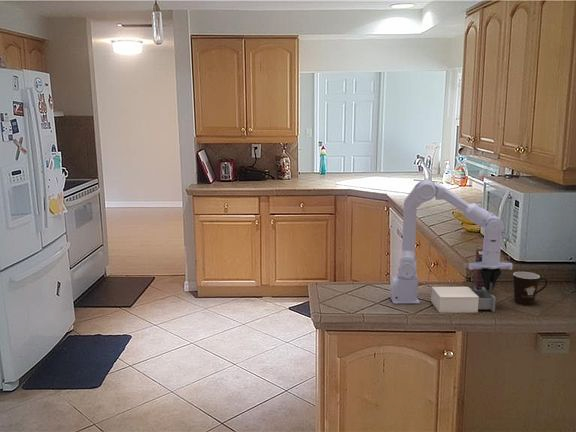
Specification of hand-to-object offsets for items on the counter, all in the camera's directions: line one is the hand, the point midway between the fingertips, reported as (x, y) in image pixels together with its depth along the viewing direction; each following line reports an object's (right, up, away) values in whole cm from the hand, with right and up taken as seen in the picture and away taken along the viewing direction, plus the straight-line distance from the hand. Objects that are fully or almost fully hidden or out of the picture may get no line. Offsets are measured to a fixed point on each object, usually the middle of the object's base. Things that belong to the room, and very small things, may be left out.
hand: (488, 289), depth 189 cm
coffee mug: (+16, -6, +5) cm, 18 cm away
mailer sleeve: (-12, -6, +1) cm, 14 cm away
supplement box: (+3, -4, +16) cm, 17 cm away
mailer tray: (-6, -6, +1) cm, 9 cm away
